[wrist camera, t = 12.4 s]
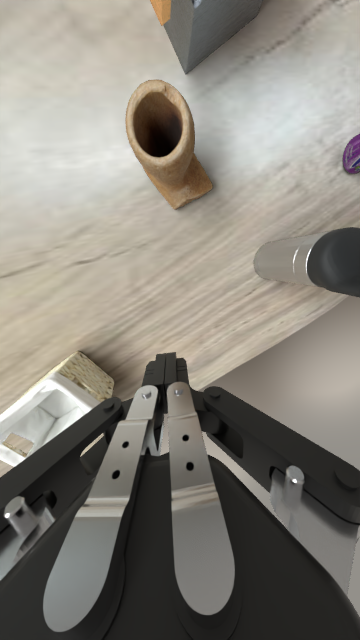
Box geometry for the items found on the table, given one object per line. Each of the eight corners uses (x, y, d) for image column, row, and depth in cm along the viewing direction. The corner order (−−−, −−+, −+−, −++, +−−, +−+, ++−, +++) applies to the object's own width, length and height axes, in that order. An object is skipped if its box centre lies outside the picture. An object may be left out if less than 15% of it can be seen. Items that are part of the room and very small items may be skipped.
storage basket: (80, 343, 47) (47, 377, 33) (123, 380, 52) (109, 423, 38) (19, 393, 50) (-35, 444, 36) (66, 424, 55) (34, 479, 41)
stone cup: (124, 161, 36) (101, 94, 22) (168, 118, 35) (175, 17, 20) (170, 226, 41) (176, 207, 26) (211, 190, 39) (240, 150, 25)
